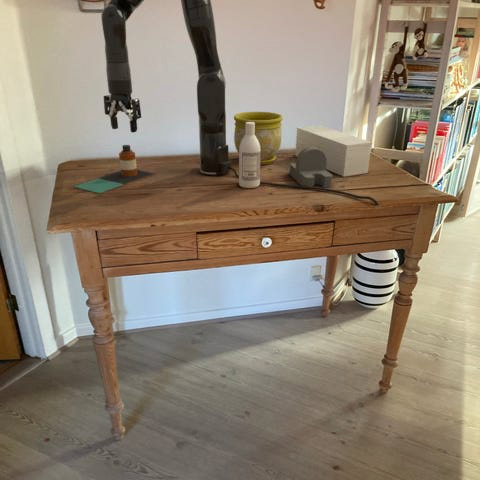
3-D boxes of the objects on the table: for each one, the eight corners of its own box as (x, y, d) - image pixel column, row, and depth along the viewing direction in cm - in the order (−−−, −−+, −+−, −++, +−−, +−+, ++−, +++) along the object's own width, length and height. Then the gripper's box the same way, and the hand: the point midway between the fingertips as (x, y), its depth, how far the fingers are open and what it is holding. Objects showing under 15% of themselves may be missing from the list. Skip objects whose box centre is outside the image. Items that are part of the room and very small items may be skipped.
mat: (153, 174, 185) (153, 173, 185) (99, 193, 166) (99, 192, 166) (128, 169, 190) (128, 168, 190) (73, 187, 172) (73, 186, 172)
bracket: (305, 188, 172) (307, 155, 166) (288, 173, 187) (290, 142, 181) (332, 186, 174) (335, 153, 168) (314, 171, 188) (316, 141, 183)
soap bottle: (140, 174, 184) (137, 145, 179) (129, 178, 180) (126, 148, 175) (129, 171, 186) (125, 143, 181) (118, 175, 183) (114, 146, 177)
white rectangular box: (367, 173, 187) (371, 142, 182) (343, 176, 183) (347, 145, 178) (317, 152, 212) (319, 125, 206) (295, 155, 208) (296, 127, 202)
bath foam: (263, 187, 173) (265, 123, 163) (244, 189, 170) (245, 125, 160) (253, 181, 178) (254, 119, 168) (235, 183, 176) (235, 121, 165)
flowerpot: (272, 169, 191) (274, 122, 182) (227, 164, 196) (226, 118, 188) (286, 157, 205) (288, 113, 197) (243, 153, 211) (243, 110, 202)
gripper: (143, 78, 166) (147, 131, 175) (111, 74, 173) (116, 125, 181) (127, 80, 161) (132, 135, 169) (94, 76, 167) (101, 129, 176)
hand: (124, 130), depth 175 cm, fingers open, 8 cm apart
